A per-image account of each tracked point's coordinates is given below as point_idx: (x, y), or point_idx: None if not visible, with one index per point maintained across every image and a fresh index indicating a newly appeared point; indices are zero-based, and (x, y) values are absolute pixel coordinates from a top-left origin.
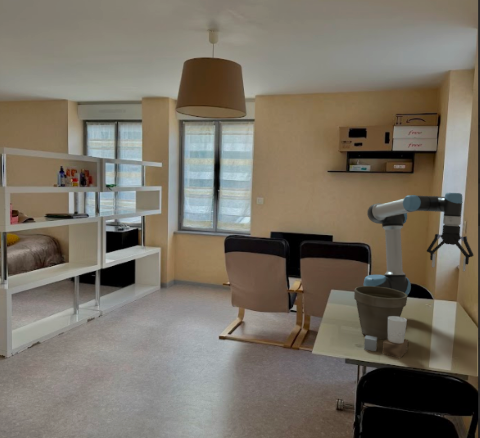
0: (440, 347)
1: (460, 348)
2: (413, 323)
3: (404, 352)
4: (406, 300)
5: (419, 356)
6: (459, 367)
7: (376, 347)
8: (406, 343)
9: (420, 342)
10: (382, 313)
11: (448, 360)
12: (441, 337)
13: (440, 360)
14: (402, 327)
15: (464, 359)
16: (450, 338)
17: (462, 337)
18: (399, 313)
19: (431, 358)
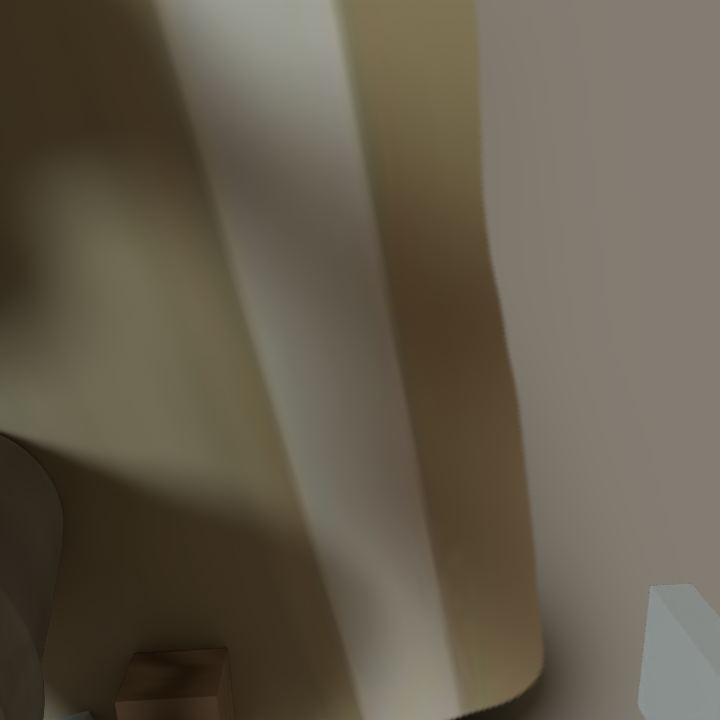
0: (350, 464)
1: (450, 394)
2: (3, 16)
3: (230, 696)
4: (17, 686)
5: (303, 675)
6: (492, 677)
7: (88, 711)
8: (221, 707)
9: (229, 462)
10: None
11: (432, 628)
12: (300, 251)
13: (400, 655)
14: None
15: (497, 559)
16: (355, 225)
17: (420, 127)
18: (41, 654)
19: (358, 660)
